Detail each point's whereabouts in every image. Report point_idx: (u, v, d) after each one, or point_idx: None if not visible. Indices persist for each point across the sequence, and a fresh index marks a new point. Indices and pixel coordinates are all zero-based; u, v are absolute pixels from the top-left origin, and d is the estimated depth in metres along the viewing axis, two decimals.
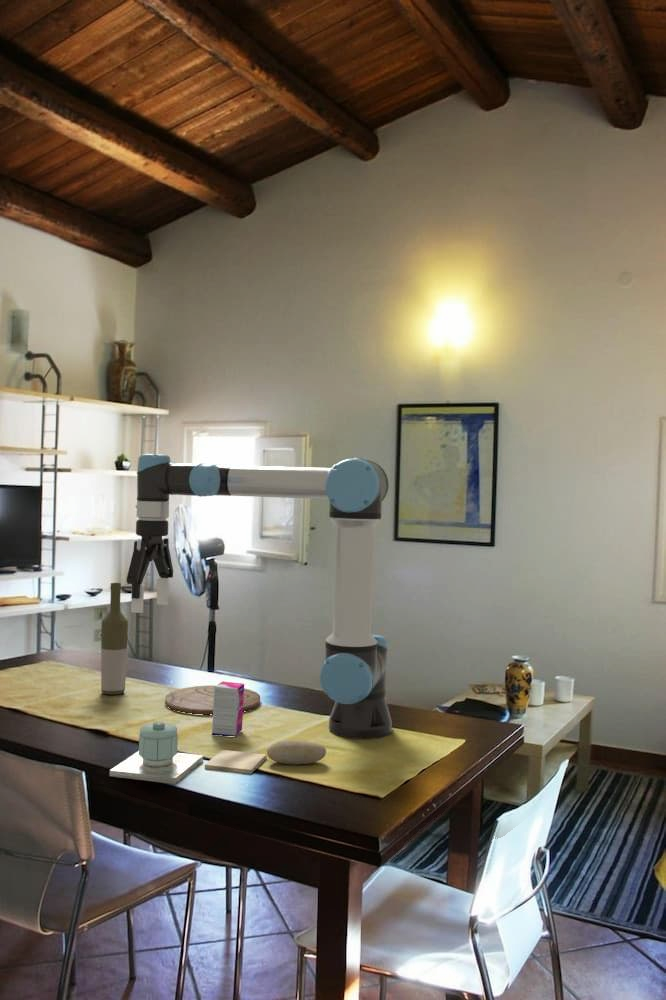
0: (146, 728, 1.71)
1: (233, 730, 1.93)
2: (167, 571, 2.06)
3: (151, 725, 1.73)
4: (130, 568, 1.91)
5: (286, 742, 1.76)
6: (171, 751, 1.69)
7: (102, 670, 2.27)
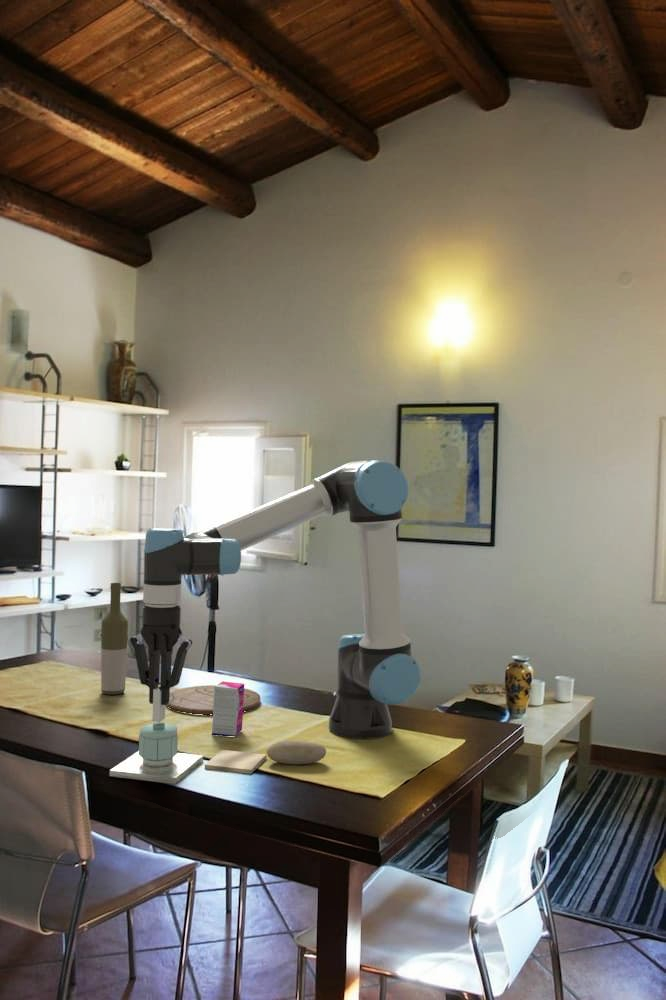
0: (146, 728, 1.71)
1: (233, 730, 1.93)
2: (162, 679, 1.69)
3: (151, 725, 1.73)
4: None
5: (286, 742, 1.76)
6: (171, 751, 1.69)
7: (102, 670, 2.27)
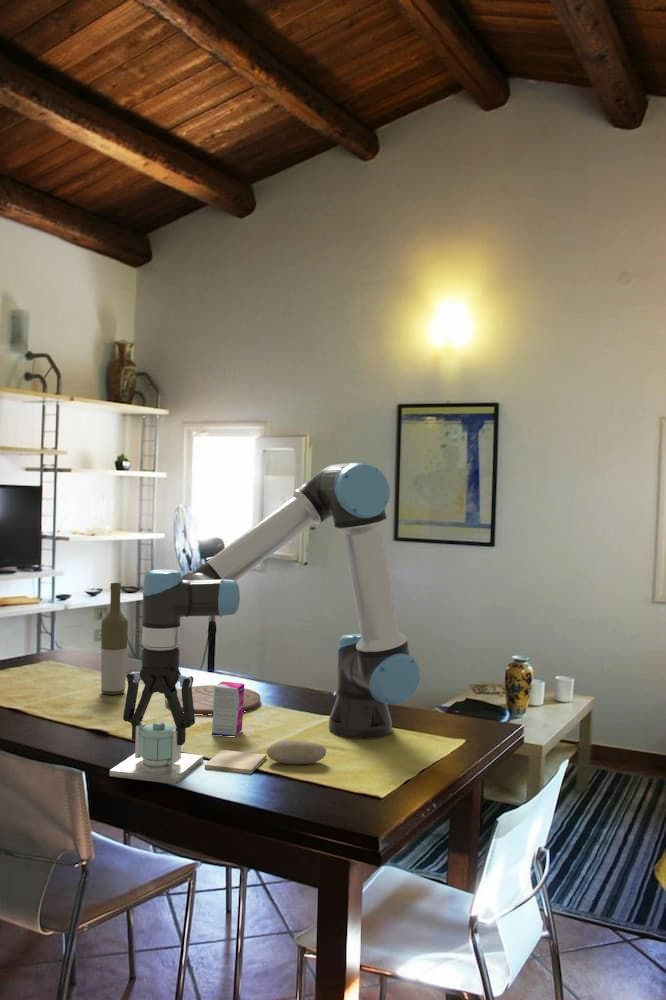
0: (146, 728, 1.71)
1: (233, 730, 1.93)
2: (176, 720, 1.69)
3: (151, 725, 1.73)
4: None
5: (286, 742, 1.76)
6: (171, 751, 1.69)
7: (102, 670, 2.27)
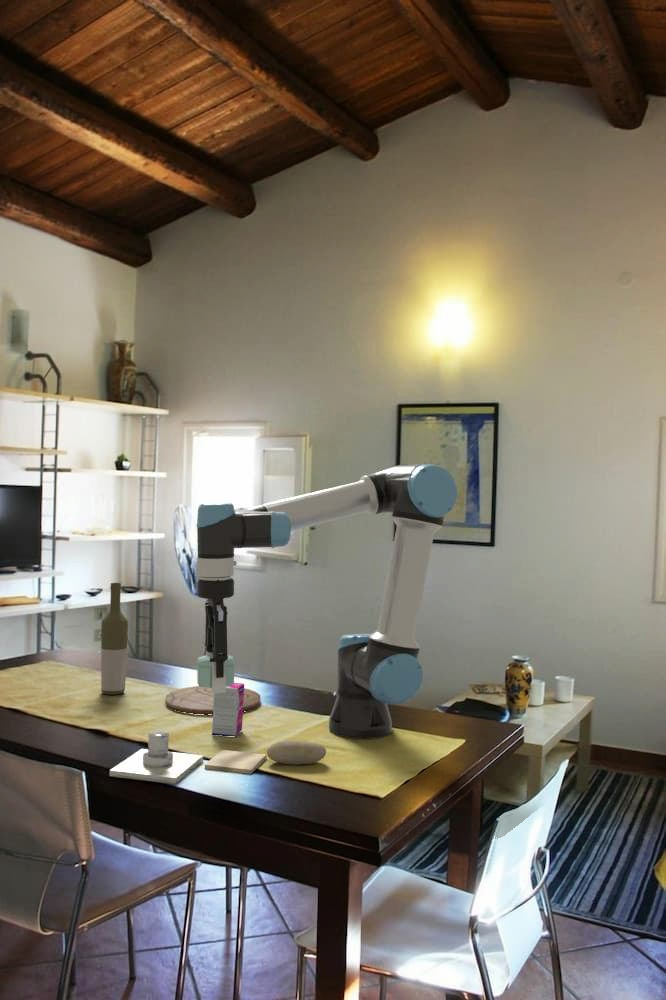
0: (210, 656, 1.76)
1: (233, 730, 1.93)
2: (213, 651, 1.69)
3: None
4: None
5: (286, 742, 1.76)
6: (211, 681, 1.70)
7: (102, 670, 2.27)
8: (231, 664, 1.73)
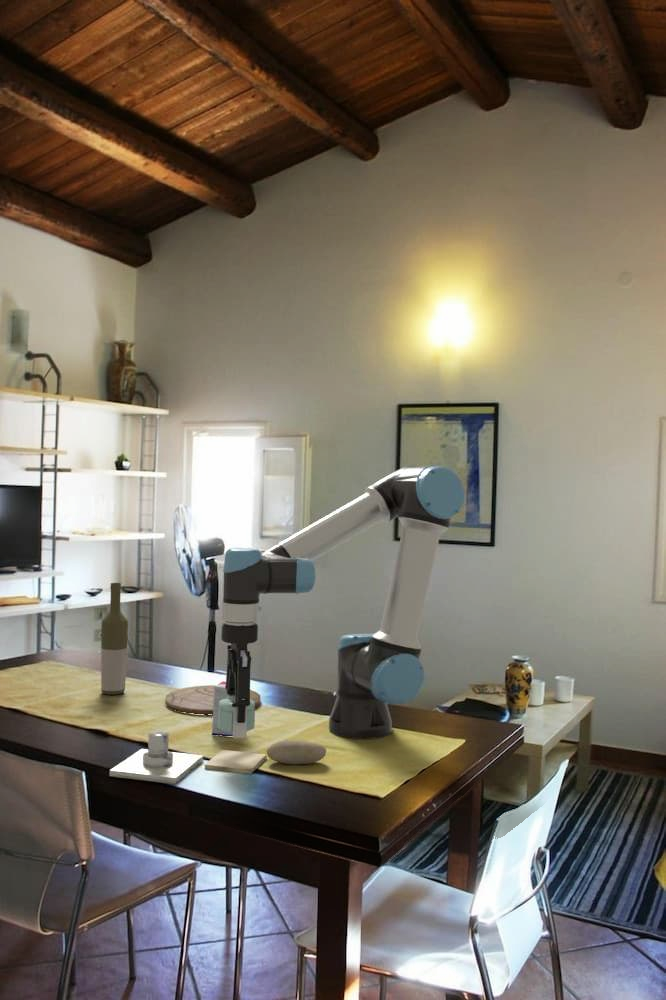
0: (231, 699, 1.77)
1: None
2: (235, 696, 1.71)
3: None
4: None
5: (286, 742, 1.76)
6: (232, 726, 1.72)
7: (102, 670, 2.27)
8: (252, 709, 1.74)
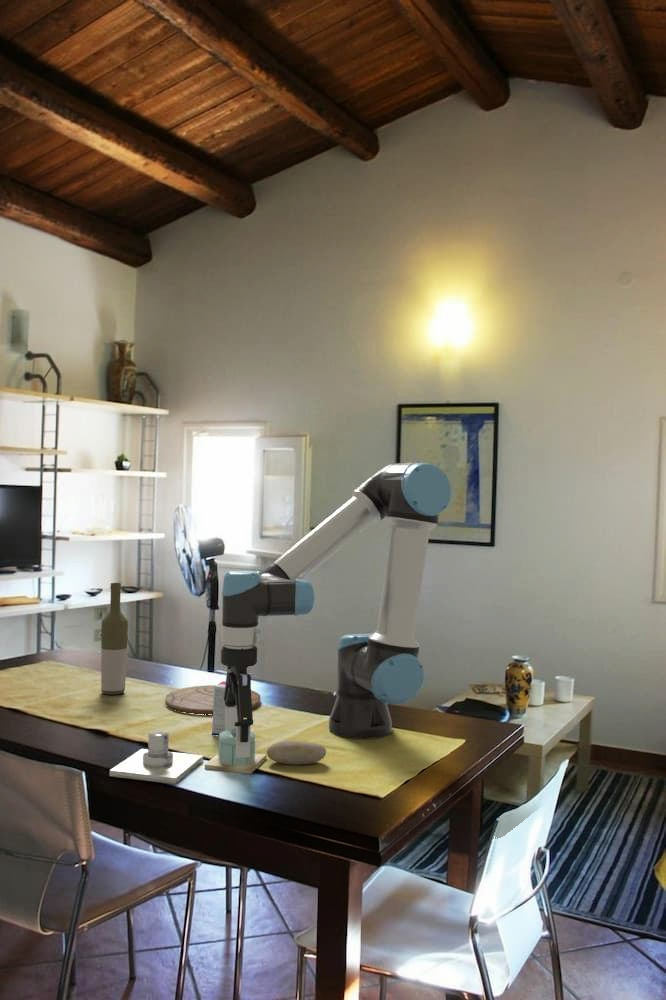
0: (231, 731, 1.78)
1: None
2: (237, 716, 1.69)
3: None
4: None
5: (286, 742, 1.76)
6: (233, 759, 1.72)
7: (102, 670, 2.27)
8: (252, 741, 1.74)
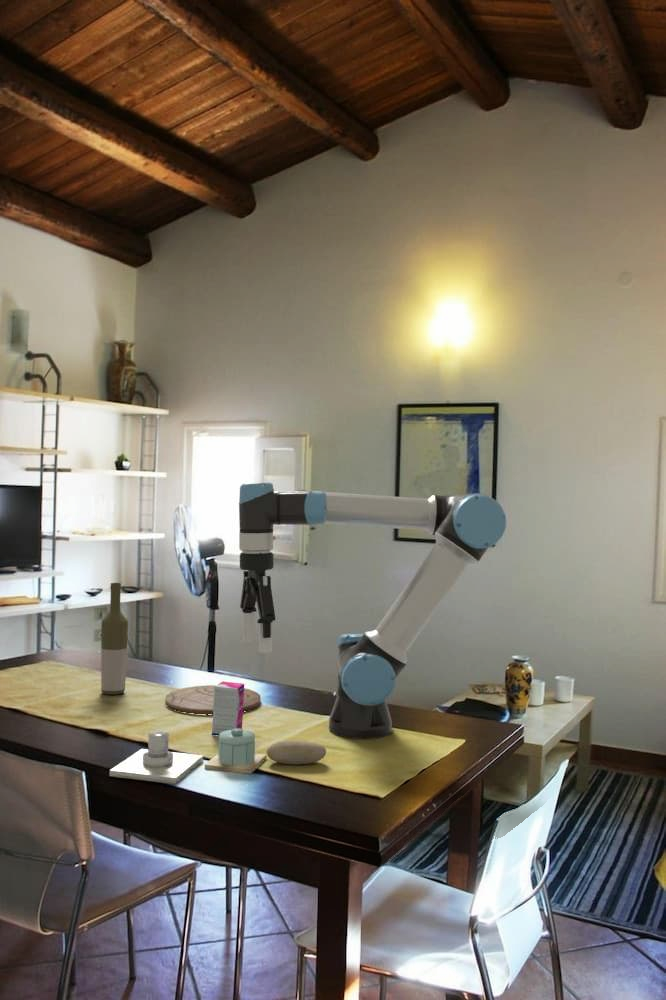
0: (231, 731, 1.78)
1: None
2: (259, 614, 1.81)
3: None
4: None
5: (286, 742, 1.76)
6: (233, 759, 1.72)
7: (102, 670, 2.27)
8: (252, 741, 1.74)
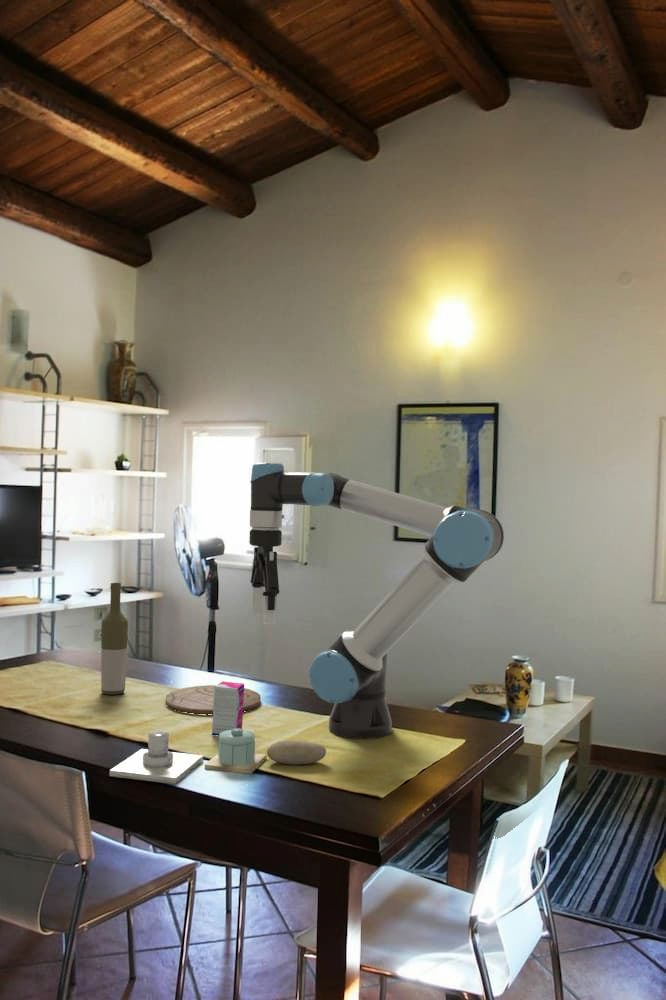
0: (231, 731, 1.78)
1: None
2: (265, 588, 1.90)
3: None
4: None
5: (286, 742, 1.76)
6: (233, 759, 1.72)
7: (102, 670, 2.27)
8: (252, 741, 1.74)
